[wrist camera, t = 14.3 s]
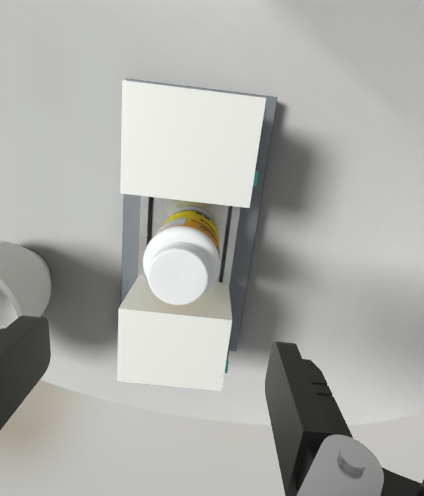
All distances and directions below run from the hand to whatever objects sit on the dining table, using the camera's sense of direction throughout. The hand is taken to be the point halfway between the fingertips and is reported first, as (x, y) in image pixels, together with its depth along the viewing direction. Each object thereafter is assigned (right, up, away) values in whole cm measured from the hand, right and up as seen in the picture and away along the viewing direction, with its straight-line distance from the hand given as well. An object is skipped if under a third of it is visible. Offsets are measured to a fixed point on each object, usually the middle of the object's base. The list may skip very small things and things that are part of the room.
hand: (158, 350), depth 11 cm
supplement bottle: (0, +5, +18) cm, 19 cm away
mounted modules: (0, +5, +18) cm, 19 cm away
